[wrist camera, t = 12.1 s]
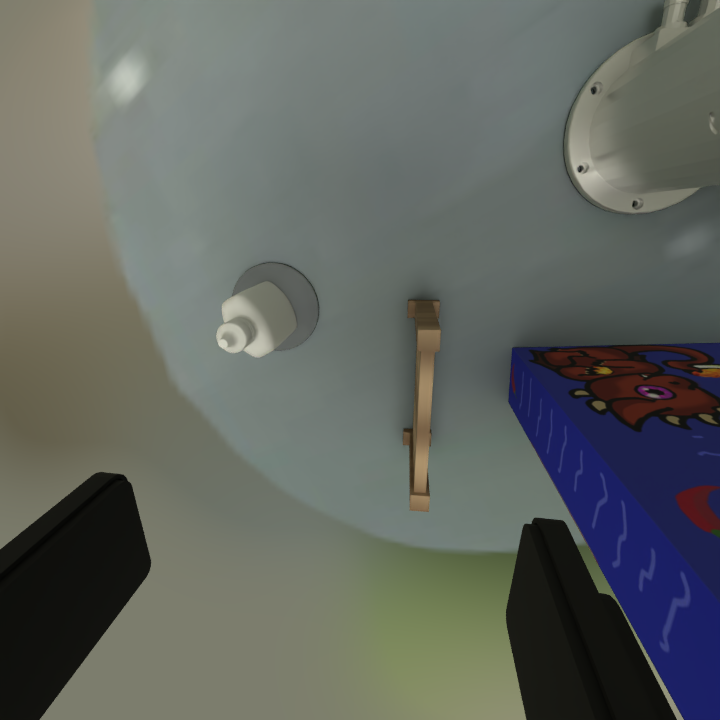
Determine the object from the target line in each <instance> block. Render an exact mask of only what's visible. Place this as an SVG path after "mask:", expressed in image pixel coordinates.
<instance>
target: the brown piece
mask: <svg viewBox="0 0 720 720" xmlns="http://www.w3.org/2000/svg"><path fill="white" fill-rule="evenodd" d="M439 308H440V301H439V300H408V318H415V327H416V342H417V352H416V374H415V396H414V417H413V429H404V431H403V445H409V460H410V510H411V511H424V512H429V500H430V493H429V481H428V452H429V446H430V447H431V430H430V420H431V404H432V388H433V372H434V356H435V352H439V351H440V336H441V329H440V326H439V322H438V319H437V318H439Z"/></svg>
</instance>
